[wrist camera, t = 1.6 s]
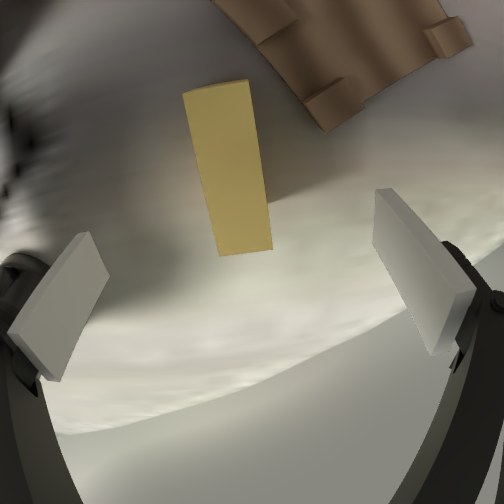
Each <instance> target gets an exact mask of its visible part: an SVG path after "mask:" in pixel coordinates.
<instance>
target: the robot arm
mask: <svg viewBox="0 0 504 504" xmlns="http://www.w3.org/2000/svg"><path fill="white" fill-rule="evenodd" d="M373 246H374V247H375V249H376V251H377V252H378V254H379V256H380V258H381V259H382V261H383V263H384V265H385V267H386V268H387V270H388V272H389V274H390V276H391V278H392V279H393V281H394V283H395V285H396V287H397V289H398V291H399V293H400V295H401V297H402V299H403V300H404V302H405V304H406V306H407V308H408V310H409V312H410V314H411V316H412V318H413V321H414V323H415V325H416V327H417V329H418V331H419V333H420V335H421V337H422V340H423V342H424V344H425V346H426V348H427V350H428V353H429V355H430V357H432V356H435V355H439V354H443V353H446V352H449V351H450V349H451V347H452V345H453V343H454V341H455V340H456V342H457V344H458V346H459V348H460V349H459V351H458V352H457V354H456V356H455V358H454V360H453V362H452V364H451V365H450V367H449V368H451V369H452V371H451V374H450V377H449V379H448V382H447V385H446V388H445V391H444V394H443V396H442V399H441V402H440V404H439V407H438V409H437V412H436V414H435V416H434V419H433V421H432V423H431V426H430V428H429V430H428V433H427V435H426V437H425V439H424V441H423V443H422V445H421V447H420V450H419V451H418V454H417V455H416V457H415V459H414V461H413V463H412V465H411V467H410V469H409V471H408V472H407V474H406V476H405V478H404V479H403V481H402V483H401V485H400V486H399V488H398V490H397V491H396V493H395V495H394V496H393V498H392V499H391V501H390V503H389V504H475V501H476V500H477V497H478V495H479V492H480V490H481V488H482V485H483V483H484V480H485V478H486V475H487V472H488V470H489V467H490V464H491V461H492V458H493V455H494V452H495V449H496V446H497V442H498V439H499V435H500V431H501V428H502V424H503V420H504V292H501V291H497V290H493V291H492V290H491V288H490V287H489V286H488V285H487V283H486V282H485V281H484V279H483V278H482V277H481V276H480V274H479V273H478V271H477V270H476V269H475V268H474V267H473V266H472V265H471V263H470V262H469V260H468V259H466V258H465V255H464V254H463V253H462V252H461V251H460V250H459V248H457V247H456V246H454V245H453V244H451V243H450V242H448V241H443V242H440V241H439V240H438V238H437V237H436V236H435V235H434V234H433V233H432V231H431V230H430V229H429V228H428V227H427V226H426V225H425V223H424V222H423V221H422V220H421V219H420V218H419V217H418V216H417V215H416V213H415V212H414V211H413V210H412V209H411V208H410V207H409V206H408V205H407V204H406V203H405V202H404V201H403V200H402V199H401V198H400V197H399V195H398V194H397V193H396V192H395V191H394V190H393V189H392V188H388V189H376V190H375V214H374V230H373ZM109 277H110V275H109V273H108V271H107V269H106V267H105V265H104V263H103V261H102V259H101V257H100V254H99V252H98V250H97V248H96V246H95V243H94V241H93V239H92V236H91V234H90V232H89V231H87V232H82V233H77V234H76V236H75V237H74V238H73V239H72V241H71V242H70V243H69V244H68V246H67V247H66V248H65V249H64V251H63V252H62V253H61V254H60V256H59V257H58V258H57V260H56V261H55V262H54V264H53V265H52V266H51V268H50V267H49V266H47V265H46V264H44V263H43V262H41V261H40V260H38V259H36V258H33V257H31V256H28V255H24V254H14V255H11V256H9V257H7V258H6V259H5V260H4V261H3V262H2V264H1V265H0V504H83V502H82V500H81V498H80V496H79V494H78V492H77V489H76V487H75V485H74V483H73V480H72V478H71V475H70V473H69V471H68V468H67V466H66V463H65V461H64V458H63V455H62V453H61V450H60V447H59V445H58V441H57V439H56V435H55V432H54V429H53V426H52V423H51V419H50V416H49V413H48V409H47V405H46V401H45V398H44V394H43V389H42V385H41V382H40V380H39V379H40V377H41V374H42V375H43V376H44V377H45V379H46V380H48V381H55V382H60V381H61V378H62V376H63V374H64V371H65V369H66V366H67V364H68V362H69V359H70V357H71V355H72V352H73V350H74V348H75V346H76V343H77V341H78V339H79V337H80V335H81V333H82V330H83V328H84V326H85V324H86V322H87V320H88V318H89V316H90V314H91V312H92V310H93V308H94V306H95V304H96V302H97V300H98V298H99V296H100V294H101V292H102V290H103V288H104V286H105V284H106V283H107V281H108V279H109ZM495 504H504V444H503V455H502V464H501V472H500V478H499V484H498V490H497V495H496V500H495Z"/></svg>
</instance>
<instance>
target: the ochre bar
mask: <svg viewBox="0 0 504 504" xmlns="http://www.w3.org/2000/svg"><path fill="white" fill-rule="evenodd" d="M182 95H183V100H184V105H185V109H186V114H187V119H188V124H189V128H190V133H191V137H192V142H193V147H194V151H195V156H196V160H197V164H198V169H199V173H200V178H201V182H202V186H203V191H204V195H205V199H206V203H207V207H208V212H209V216H210V220H211V224H212V228H213V232H214V236H215V240H216V244H217V248H218V252H219V256H227V255H235V254H243V253H251V252H258V251H266V250H273V245H272V237H271V229H270V221H269V214H268V206H267V199H266V192H265V185H264V178H263V171H262V164H261V157H260V150H259V144H258V137H257V131H256V124H255V118H254V111H253V105H252V99H251V92H250V86H249V80H248V79H242V80H236V81H229V82H224V83H218V84H213V85H207V86H202V87H199V88H196V89H193V90H190V91H188V92H185V93H182Z"/></svg>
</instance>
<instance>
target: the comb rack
mask: <svg viewBox="0 0 504 504" xmlns="http://www.w3.org/2000/svg"><path fill="white" fill-rule="evenodd" d="M211 1H212V2H213V3H214V4H215V5H216V6H217V7H218V8H219V9H220V10H221V11H222V12H223V13H224V14H225V15H226V16H227V17H228V18H229V19H230V20H231V21H232V22H233V23H234V24H235V25H236V26H237V27H238V28H239V29H240V30H241V32H242V33H243V34H244V35H245V36H246V37H247V38H248V39H249V40H250V41H251V42H252V43H253V45H254V46H255V47H256V48H257V49H258V50H259V51H260V53H261V54H262V55H263V56H264V57H265V58H266V59H267V61H268V62H269V63H270V64H271V65H272V66H273V68H274V69H275V70H276V71H277V72H278V74H279V75H280V76H281V77H282V79H283V80H284V81H285V82H286V84H287V85H288V86H289V87H290V89H291V90H292V91H293V92H294V94H295V95H296V96H297V98H298V99H299V100H300V101H301V103H302V104H303V105H304V107H305V108H306V109H307V111H308V112H309V113H310V115H311V116H312V118H313V119H314V120H315V122H316V123H317V124H318V126H319V127H320V128H321V129H322V130H323V131H324V132H326V133H328V132H329V131H331V130H332V129H334V128H335V127H337V126H338V125H340V124H341V123H343V122H344V121H346V120H347V119H349V118H351V117H352V116H354V115H355V114H357V113H358V112H360V111H361V110H363V109H364V108H365V107H364V105H363V104H362V102H364V101H365V100H367V99H368V98H370V97H372V96H373V95H375V94H376V93H378V92H380V91H381V90H383V89H384V88H386V87H388V86H389V85H391V84H393V83H394V82H396V81H398V80H399V79H401V78H403V77H404V76H406V75H408V74H409V73H411V72H413V71H414V70H416V69H418V68H420V67H421V66H423V65H425V64H427V63H428V62H430V61H432V60H434V59H435V58H446V59H447V58H449V57H451V56H453V55H454V54H456V53H458V52H460V51H462V50H463V49H465V48H467V47H469V46H471V45H472V43H471V41H470V39H469V37H468V35H467V33H466V31H465V29H464V27H463V25H462V23H461V21H460V19H459V18H458V17H449V18H447V16H446V15H445V13H444V11H443V10H442V8H441V6H440V5H439V3H438V1H437V0H211Z"/></svg>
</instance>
